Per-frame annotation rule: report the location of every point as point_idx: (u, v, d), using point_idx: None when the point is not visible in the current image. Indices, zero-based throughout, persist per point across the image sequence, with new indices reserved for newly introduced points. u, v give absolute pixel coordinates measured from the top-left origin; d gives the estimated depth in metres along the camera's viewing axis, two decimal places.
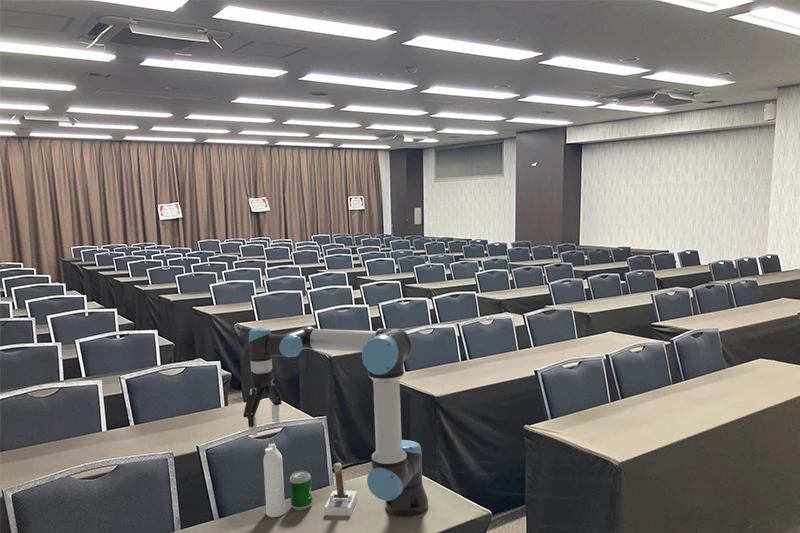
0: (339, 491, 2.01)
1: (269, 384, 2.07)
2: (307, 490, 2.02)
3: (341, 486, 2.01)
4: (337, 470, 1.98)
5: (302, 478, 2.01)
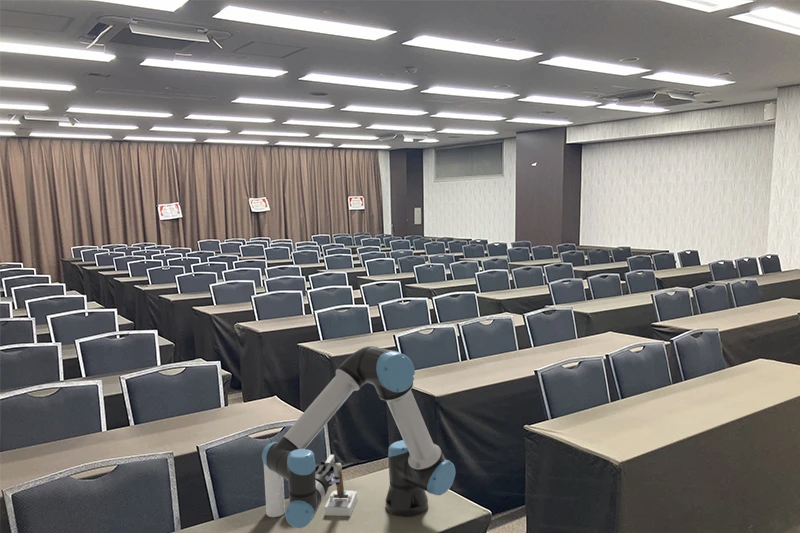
0: (339, 491, 2.01)
1: None
2: None
3: (341, 486, 2.01)
4: None
5: None
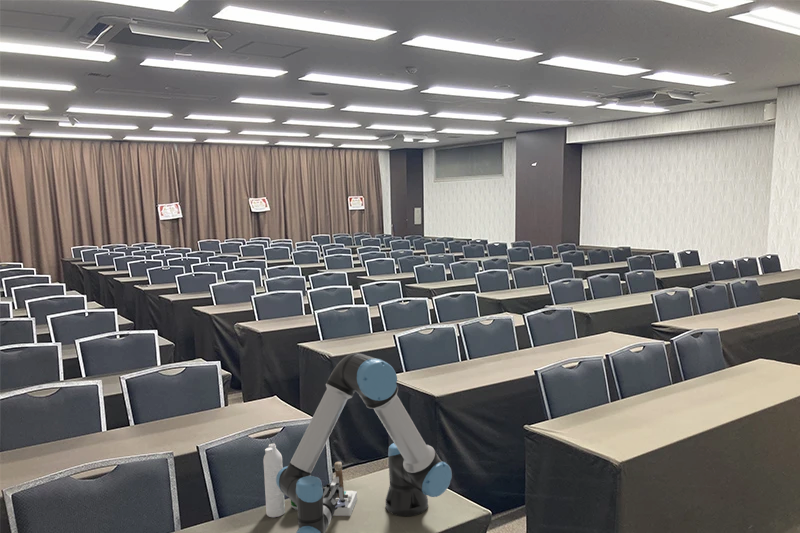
0: None
1: None
2: None
3: (341, 485, 2.01)
4: (337, 469, 1.99)
5: None
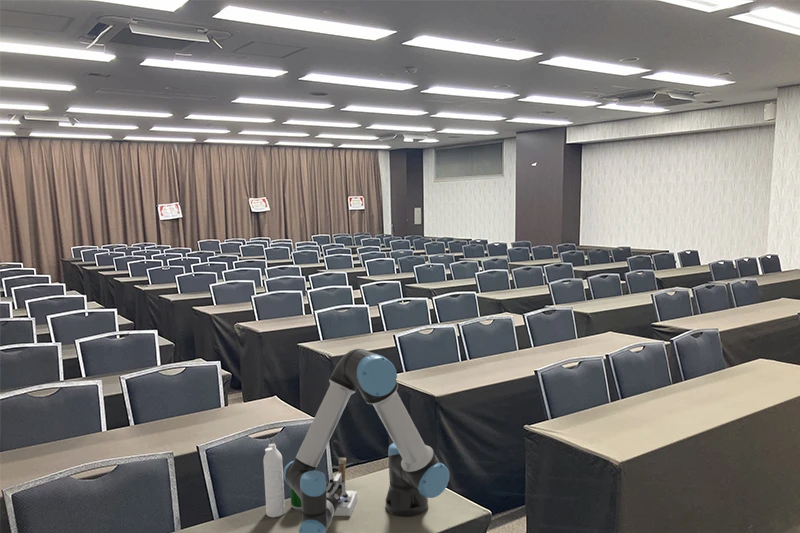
0: None
1: None
2: None
3: None
4: (341, 461, 2.05)
5: None
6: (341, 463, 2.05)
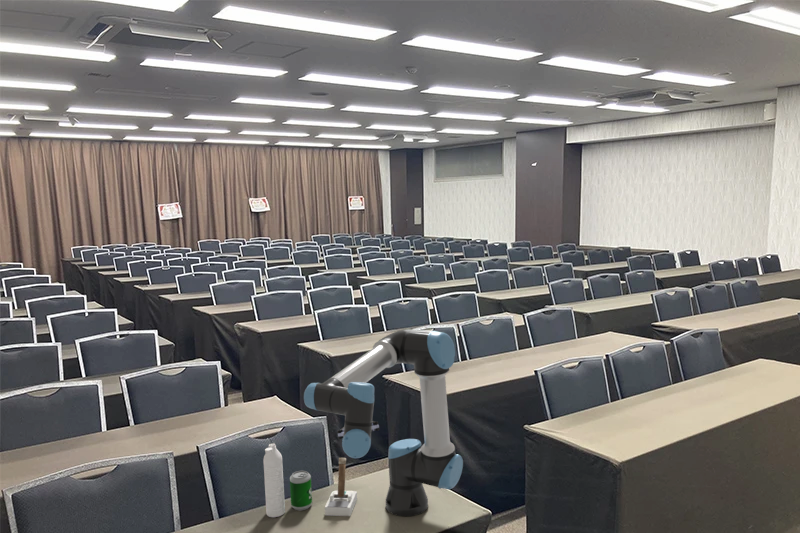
0: (340, 488, 2.03)
1: None
2: (307, 490, 2.02)
3: (343, 482, 2.03)
4: (341, 461, 2.05)
5: (302, 478, 2.01)
6: (341, 463, 2.05)
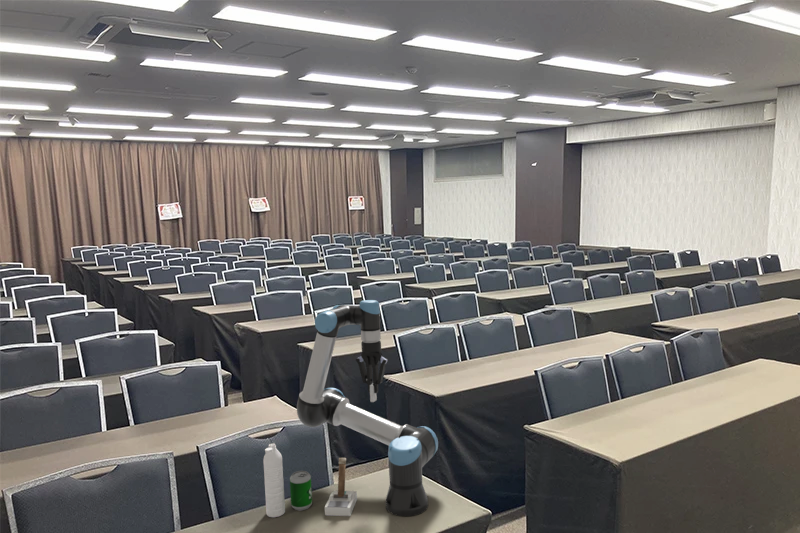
0: (340, 488, 2.03)
1: (377, 355, 2.16)
2: (307, 490, 2.02)
3: (343, 482, 2.03)
4: (341, 461, 2.05)
5: (302, 478, 2.01)
6: (341, 463, 2.05)
